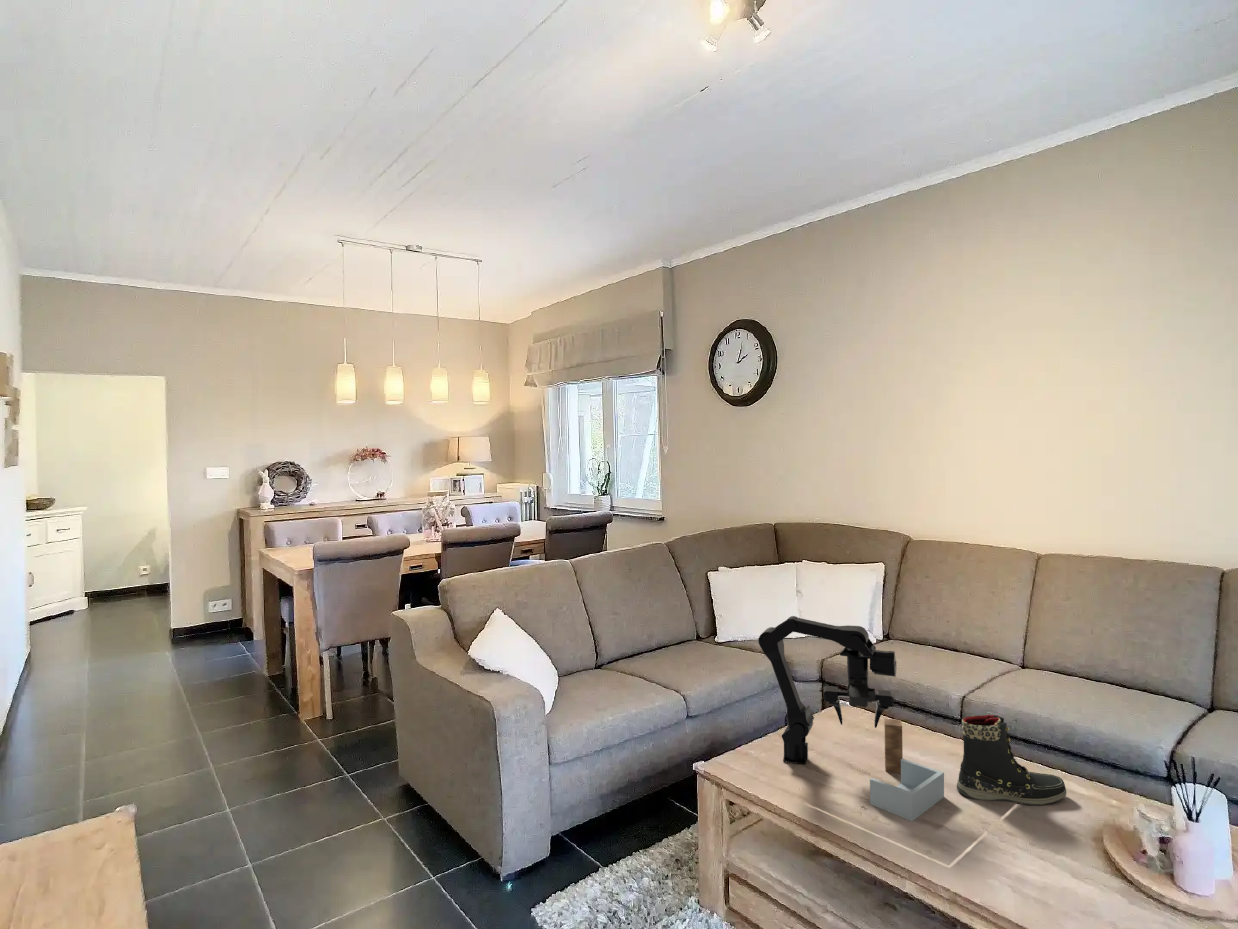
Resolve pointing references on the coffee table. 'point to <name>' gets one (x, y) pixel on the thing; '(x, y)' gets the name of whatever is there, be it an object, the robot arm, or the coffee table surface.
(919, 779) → the crate
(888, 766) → the walnut block
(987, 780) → the boot
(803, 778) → the coffee table surface
